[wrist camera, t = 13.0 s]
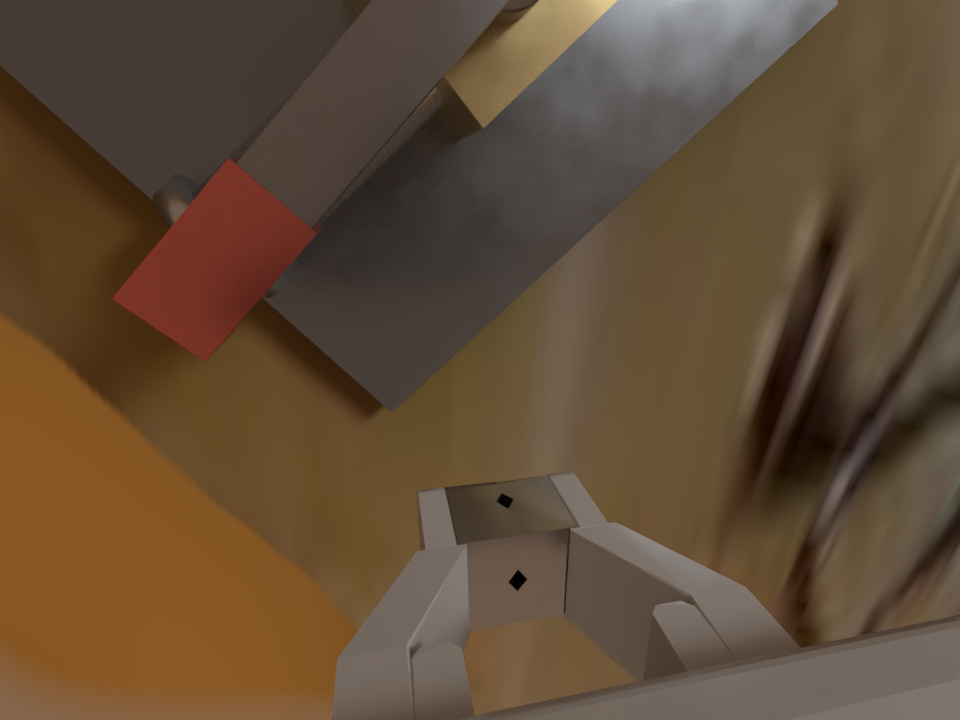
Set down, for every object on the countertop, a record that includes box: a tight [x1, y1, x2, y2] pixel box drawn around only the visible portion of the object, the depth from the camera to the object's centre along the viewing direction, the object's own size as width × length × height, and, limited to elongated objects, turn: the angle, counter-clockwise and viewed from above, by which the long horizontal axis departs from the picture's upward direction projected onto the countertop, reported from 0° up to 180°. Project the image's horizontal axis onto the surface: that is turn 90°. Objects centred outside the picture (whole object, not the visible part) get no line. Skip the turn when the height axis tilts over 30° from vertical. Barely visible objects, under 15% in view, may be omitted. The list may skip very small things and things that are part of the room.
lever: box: [112, 0, 539, 361], centre depth 15 cm, size 17×4×4 cm, turn 136°
